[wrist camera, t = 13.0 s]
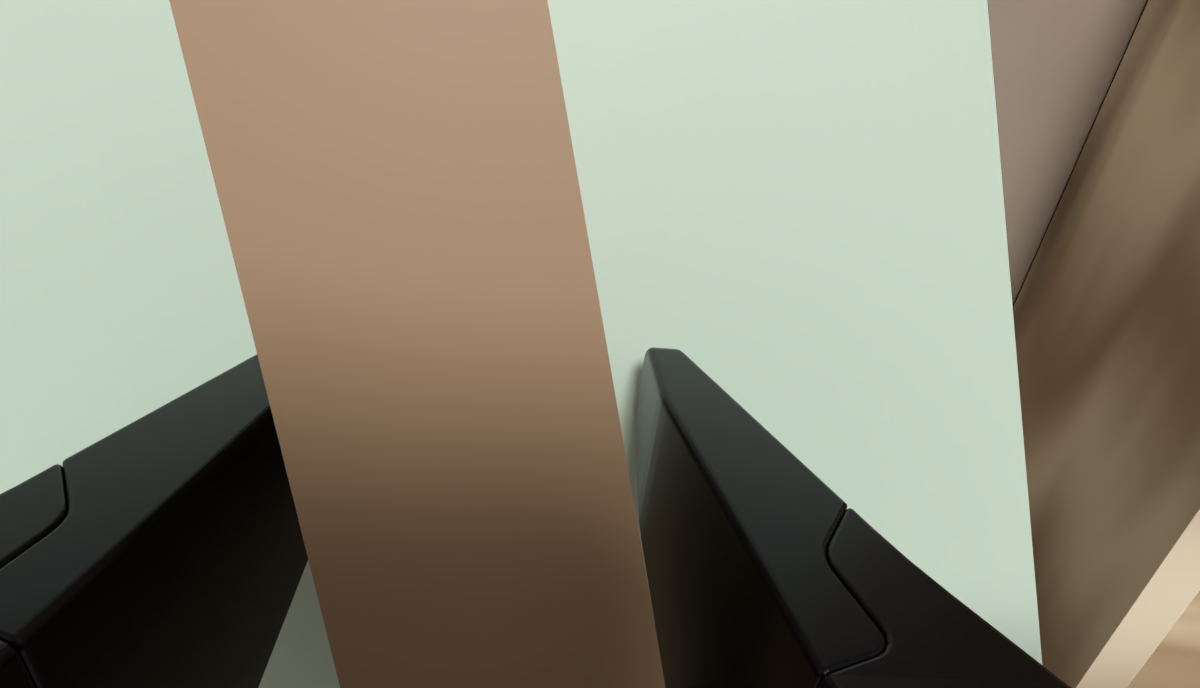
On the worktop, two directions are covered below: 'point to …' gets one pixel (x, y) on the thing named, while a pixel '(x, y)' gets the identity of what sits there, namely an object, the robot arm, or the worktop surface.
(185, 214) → the lid
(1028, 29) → the worktop surface
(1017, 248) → the worktop surface
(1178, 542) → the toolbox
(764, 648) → the robot arm
